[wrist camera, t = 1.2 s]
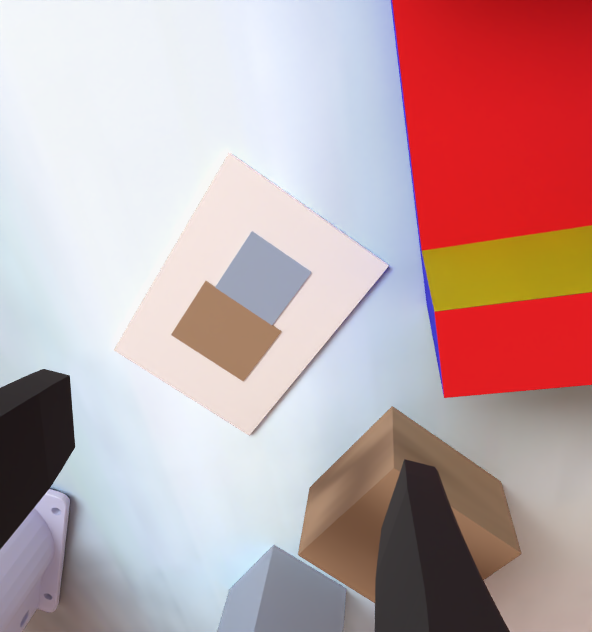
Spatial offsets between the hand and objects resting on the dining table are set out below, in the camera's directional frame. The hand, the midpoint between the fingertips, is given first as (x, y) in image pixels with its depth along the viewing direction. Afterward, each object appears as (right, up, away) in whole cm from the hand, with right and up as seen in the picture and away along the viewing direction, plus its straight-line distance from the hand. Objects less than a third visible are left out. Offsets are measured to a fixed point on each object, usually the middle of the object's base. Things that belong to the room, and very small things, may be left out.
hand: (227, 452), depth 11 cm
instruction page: (-1, +3, +10) cm, 11 cm away
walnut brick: (+6, -5, +13) cm, 15 cm away
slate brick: (+1, -12, +17) cm, 20 cm away
